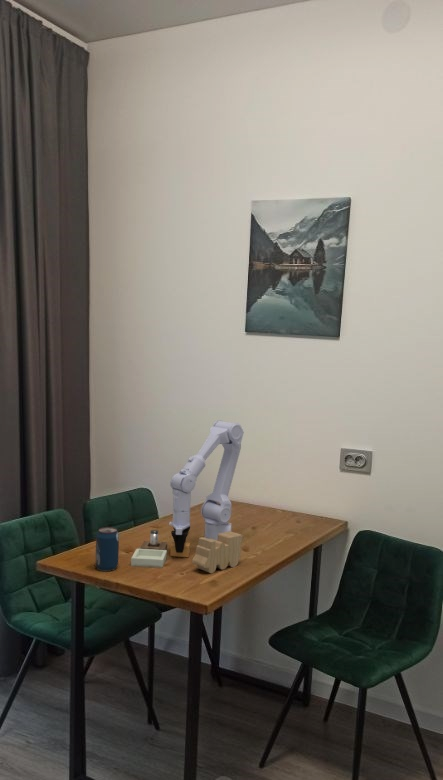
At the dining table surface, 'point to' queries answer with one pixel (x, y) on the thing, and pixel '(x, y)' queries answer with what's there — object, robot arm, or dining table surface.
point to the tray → (149, 558)
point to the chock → (184, 554)
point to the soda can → (107, 549)
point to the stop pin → (154, 538)
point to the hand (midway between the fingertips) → (180, 550)
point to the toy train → (218, 552)
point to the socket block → (160, 547)
